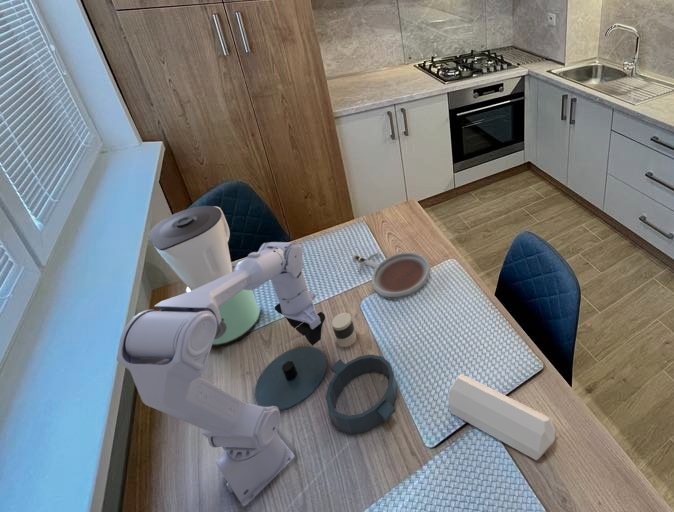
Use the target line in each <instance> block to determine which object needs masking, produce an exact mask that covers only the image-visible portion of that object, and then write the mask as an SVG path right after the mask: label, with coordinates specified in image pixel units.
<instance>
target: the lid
mask: <svg viewBox="0 0 674 512" xmlns="http://www.w3.org/2000/svg"><path fill="white" fill-rule="evenodd" d="M327 366H328V363H327V359H326V355H325V354H324V352H323V351H322V350H321V349H320V348H317V347H315V346H309V345H308V346H307V345H306V346H304V345H303V346H298V347H295V348H291V349H289V350H287V351H285V352H283V353H281V354H280V355H278V356H277V357H276V358H275V359H273V360H272V361H271V362H270V363H269V364H268V365H267V366H266V367H265V368H264V370H263V371H262V372H261V373H260V375H259V377H258V379H257V382H256V384H255V388H254V398H255V400H256V402H257V404H258V406H263V407H271V406H276V407H278V409H279V412H281V411H285V410H289V409H291V408H294V407H295V406H298V405H299V404H301V403H302V402H304V401H305V400H307V399H308V398H309V397H310V396H311V395H312V394H313V393H314V392H315V391H316V390H317V389H318V387H319V386H320V385H321V384H322V382H323V380H324V378H325V376H326V372H327V368H328V367H327Z"/></svg>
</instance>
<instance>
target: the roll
mask: <svg viewBox="0 0 674 512" xmlns="http://www.w3.org/2000/svg"><path fill="white" fill-rule="evenodd" d="M331 326H332V329H333V332H334V336H335V339H336V342H337V345H338V346H339V347H340V348H348V347H350V346H351V345H353V344H354V343H355V342H356V339H357V333H356V329H355V326H354V321H353V318H352V315H351V314H350V313H348V312H341V313H338V314H336V315H335V316H334V317H333V318H332V321H331Z"/></svg>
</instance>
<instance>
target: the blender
mask: <svg viewBox="0 0 674 512" xmlns="http://www.w3.org/2000/svg"><path fill="white" fill-rule="evenodd" d="M230 236H231V231H230V227H229V224H228V222H227V219H226V216H225V214H224V212H223V210H222V208H221V207H220V206H216V205H215V206H213V205H200V206H194V207H190V208H186V209H183V210H180V211H178V212H175V213H173V214H171V215H169V216H167V217H165V218H164V219H162V220H160V221H159V222H158V223H157V224H155V225H154V226H153V227H152V228H151V229H150V230H149V233H148V236H147V238H148V240H149V242H150V243H151V244H152V245H153V247H154V249H155V250H156V251H157V252H158V254H159V255H160V256H161V258H162V259H163V260H164V261H165V262H166V264H167V265H168V266H169V267H170V269H172V271H173V272H174V273H175V274H176V275H177V276H178V278H179V279H180V280H181V281H182V282H183V283H184V285H185V286H186V288H185V289H184V290H185V291H184V293H187V292H190V291H192V290H194V289H197V288H199V287H201V286H203V285H205V284H208V283H210V282H212V281H214V280H217V279H219V278H221V277H223V276H225V275H228V274H230V273H232V272H234V268H235V266H236V265H232V259H231V254H230V249H229V241H230ZM218 309H219V311H220V316H221V323H220V325H217V331H216V335H215V338H214V341H213V344H212V346H213V347H218V346H224V345H228V344H231V343H234V342H236V341H239V342H240V341H242V340H244V339H245V338H246V336H247V334H248V333H249V332H250V331H252V329H253V328H254V327H255V326H256V325H257V323H258V322H259V319H260V317H261V308H260V306H259V304H258V301H257V299H256V296H255V294H254V292H253V290H245V289H243V290H242V291H240V292H239V293H238V294H236V295H235V296H233V297H232V298H231V299H229V300H228V301H226V302H225V303H224V304H222V305H221V306H220V307H218Z"/></svg>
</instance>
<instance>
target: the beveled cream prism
mask: <svg viewBox="0 0 674 512" xmlns="http://www.w3.org/2000/svg"><path fill="white" fill-rule="evenodd" d="M447 397H448V398H447V401H448V403H447V404H448V406H449V411H450V414H452V415H453V416H455V417H456V418H458V419H461V420H462V421H464V422H466V423H468V424H470V425H471V426H473V427H475V428H477V429H479V430H480V431H482V432H484V433H486V434H488V435H490V436H492V437H493V438H495V439H497V440H498V441H501V442H502V443H504V444H505V445H508V446H510V447H511V448H513V449H515V450H517V451H518V452H520V453H522V454H524V455H525V456H528V457H529V458H532V459H533V460H535V461H539V459H540V458H541V457H542V456H543V455H544V454H545V453H546V452H547V451H548V449H549V448H550V447H551V446H552V445H553V443H554V442H555V440H556V429H555V424H554V420H553V419H552V418H551V417H550V416H547V415H546V414H544V413H541V412H540V411H537V410H536V409H533V408H531V407H529V406H528V405H525V404H523V403H521V402H519V401H517V400H515V399H513V398H511V397H510V396H507V395H505V394H504V393H501V392H499V391H498V390H495V389H493V388H491V387H489V386H488V385H486V384H483V383H481V382H479V381H477V380H475V379H473V378H471V377H469V376H467V375H465V374H462V373H460V374H459V375H458V376H456V379H454V381H453V383H452V385H451V386H450V387H449V390H448V395H447Z"/></svg>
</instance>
